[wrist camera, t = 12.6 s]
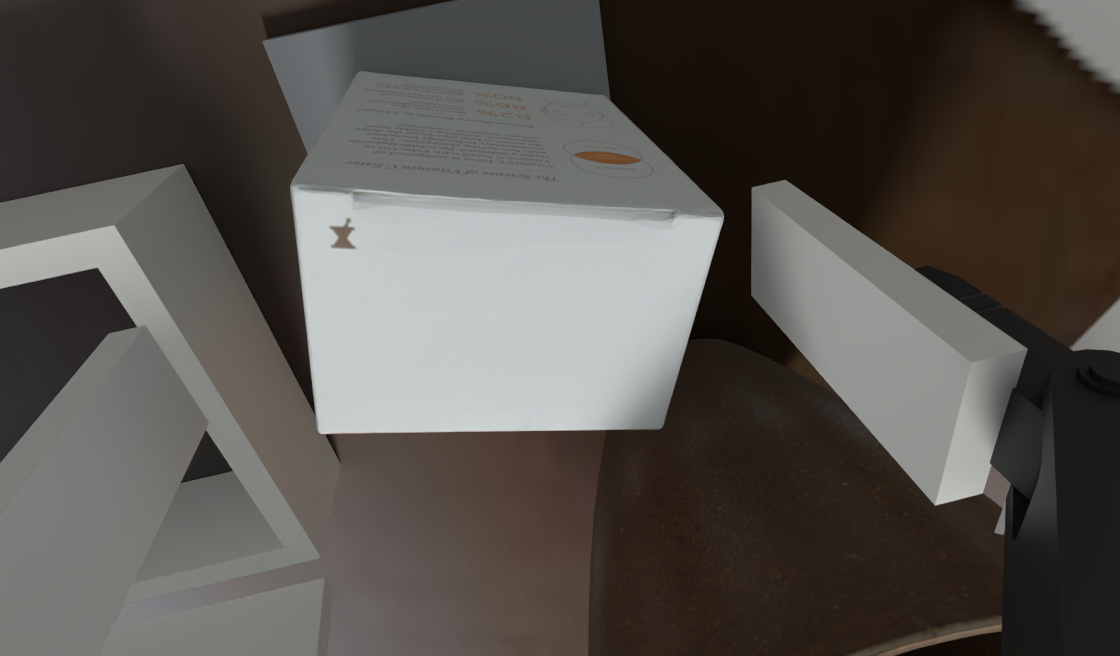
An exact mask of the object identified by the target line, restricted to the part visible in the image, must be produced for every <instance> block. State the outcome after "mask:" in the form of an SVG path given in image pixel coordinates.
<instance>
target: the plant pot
mask: <svg viewBox="0 0 1120 656" xmlns="http://www.w3.org/2000/svg"><path fill="white" fill-rule="evenodd" d="M1002 509H1003V508H1002V507H1000V506H999V505H998V504H996V503H995V502H994V501H992V500H991V499H990V498H989V497H987V496H986V495H985V494H979V495H975V496H971V497H967V498H963V499H959V500H955V501H951V502H947V503H943V504H939V505H936V506H935V505H934V504H933V503H932V501H931V500H930V499H929V498H928V497H927V496H926V495H925V493H924V492H923V491H922V490H921V489H920V488H919V487H918V485H917V484H916V483H915V482H914V481H913V480H912V479H911V477H910V476H909V475H908V474H907V473H906V472H905V471H904V469H903V468H902V467H901V466H900V465H899V464H898V463H897V461H896V460H895V459H894V458H893V457H892V456H891V455H890V453H889V452H888V451H887V450H886V449H885V448H884V446H883V445H882V444H881V443H880V442H879V441H878V440H877V438H876V437H875V436H874V435H873V434H872V433H871V432H870V430H869V429H868V428H867V427H866V426H865V425H864V424H863V422H862V421H861V420H860V419H859V418H858V417H857V416H856V414H855V413H854V412H853V411H852V410H851V409H850V408H849V406H848V405H847V404H846V403H845V402H844V401H843V400H842V398H841V397H839V396H838V395H836V394H834V393H833V392H831V391H829V390H828V389H826V388H824V387H822V386H820V385H819V384H817V383H815V382H813V381H812V380H810V379H808V378H806V377H804V376H802V375H800V374H798V373H796V372H795V371H793V370H791V369H789V368H787V367H785V366H783V365H781V364H779V363H777V362H775V361H773V360H771V359H769V358H766V357H764V356H762V355H760V354H758V353H756V352H753V351H751V350H749V349H747V348H744V347H742V346H739V345H737V344H735V343H732V342H728V341H725V340H720V339H709V338H704V339H693V340H688V343H687V346H686V349H685V353H684V356H683V360H682V363H681V366H680V370H679V373H678V377H677V380H676V384H675V387H674V390H673V394H672V397H671V401H670V404H669V407H668V411H667V414H666V418H665V422H664V425H663V427H662V428H661V429H659V430H607V433H606V437H605V443H604V448H603V454H602V459H601V466H600V472H599V478H598V486H597V495H596V504H595V513H594V522H593V536H592V550H591V568H590V595H589V656H1001V636H1002V604H1003V572H1004V540H1005V532H1004V534H1003V535H1001V534H998V533H994V532H995V529H996V526H997V523H998V521H999V518H1000V515H1001V512H1002Z"/></svg>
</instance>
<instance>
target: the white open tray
mask: <svg viewBox="0 0 1120 656" xmlns="http://www.w3.org/2000/svg"><path fill="white" fill-rule="evenodd" d="M93 268H98V269H99V270H100V272H101V273H102V275H103V276H104V278H105V279H106V281H107V282H108V284H109V285H110V287H111V288H112V290H113V291H114V293H115V294H116V296H117V297H118V299H119V300H120V302H121V303H122V305H123V306H124V308H125V309H126V311H127V312H128V314H129V315H130V317H131V318H132V320H133V321H134V323H135V324H136V326H137V327H140V326H144V325H146V326H147V328H148V329H149V331H150V333H151V334H152V336H153V337H154V339H155V340H156V342H157V343H158V345H159V346H160V348H161V349H162V351H163V353H164V354H165V356H166V357H167V359H168V360H169V362H170V363H171V365H172V366H173V368H174V369H175V371H176V372H177V374H178V376H179V377H180V379H181V380H182V382H183V383H184V385H185V386H186V388H187V389H188V391H189V392H190V394H191V396H192V397H193V399H194V400H195V402H196V403H197V405H198V406H199V408H200V409H201V411H202V412H203V414H204V415H205V417H206V419H207V420H208V422H209V424H208V426H207V429H206V431H207V432H208V434H209V435H210V437H211V438H212V440H213V441H214V443H215V444H216V446H217V447H218V449H219V450H220V452H221V453H222V455H223V456H224V458H225V459H226V461H227V462H228V464H229V465H230V467H231V468H232V470H233V471H231V472H227V473H222V474H218V475H214V476H209V477H205V478H201V479H196V480H192V481H188V482H183V483H180V485H179V488H178V490H177V492H176V494H175V496H174V498H173V500H172V502H171V504H170V506H169V509H168V511H167V513H166V515H165V517H164V519H163V521H162V523H161V525H160V528H159V530H158V532H157V534H156V536H155V538H154V540H153V542H152V544H151V547H150V549H149V551H148V553H147V555H146V557H145V559H144V561H143V563H142V565H141V568H140V570H139V572H138V574H137V576H136V578H135V580H134V582H133V584H132V587H131V589H130V591H129V593H128V595H127V597H126V599H125V601H124V603H123V605H124V604H129V603H133V602H137V601H141V600H146V599H150V598H154V597H158V596H163V595H167V594H171V593H175V592H180V591H184V590H188V589H192V588H196V587H201V586H205V585H209V584H213V583H218V582H222V581H226V580H230V579H235V578H239V577H243V576H247V575H252V574H256V573H260V572H264V571H269V570H273V569H277V568H281V567H286V566H290V565H294V564H298V563H302V562H307V561H311V560H315V559H319V558H322V553H323V548H324V543H325V538H326V533H327V528H328V523H329V518H330V513H331V508H332V503H333V499H334V494H335V489H336V484H337V479H338V474H339V469H340V462H339V460H338V458H337V456H336V454H335V452H334V451H333V449H332V447H331V445H330V443H329V441H328V439H327V437H326V435H325V434H320V433H319V432H318V430H317V427H316V416H315V414H314V412H313V410H312V408H311V407H310V405H309V403H308V401H307V399H306V397H305V395H304V393H303V391H302V389H301V387H300V385H299V384H298V382H297V380H296V378H295V376H294V374H293V372H292V370H291V368H290V366H289V364H288V363H287V361H286V359H285V357H284V355H283V353H282V351H281V349H280V347H279V345H278V343H277V341H276V340H275V338H274V336H273V334H272V332H271V330H270V328H269V326H268V324H267V322H266V320H265V319H264V317H263V315H262V313H261V311H260V309H259V307H258V305H257V303H256V301H255V299H254V297H253V296H252V294H251V292H250V290H249V288H248V286H247V284H246V282H245V280H244V278H243V276H242V274H241V273H240V271H239V269H238V267H237V265H236V263H235V261H234V259H233V257H232V255H231V253H230V252H229V250H228V248H227V246H226V244H225V242H224V240H223V238H222V236H221V234H220V232H219V230H218V229H217V227H216V225H215V223H214V221H213V219H212V217H211V215H210V213H209V211H208V209H207V207H206V206H205V204H204V202H203V200H202V198H201V196H200V194H199V192H198V190H197V188H196V186H195V185H194V183H193V181H192V179H191V177H190V175H189V173H188V171H187V169H186V167H185V165H184V164H181V165H176V166H171V167H166V168H162V169H157V170H152V171H148V172H143V173H138V174H133V175H129V176H124V177H119V178H115V179H110V180H105V181H101V182H96V183H91V184H86V185H82V186H77V187H72V188H68V189H63V190H58V191H53V192H49V193H44V194H39V195H35V196H30V197H25V198H20V199H16V200H11V201H6V202H2V203H0V289H1V288H6V287H10V286H15V285H20V284H24V283H29V282H33V281H38V280H43V279H47V278H52V277H57V276H61V275H66V274H70V273H75V272H80V271H84V270H89V269H93Z"/></svg>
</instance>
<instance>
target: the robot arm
mask: <svg viewBox="0 0 1120 656" xmlns="http://www.w3.org/2000/svg"><path fill="white" fill-rule="evenodd" d="M751 295H752V297H753V298H754V299H755V300H756V301H757V302H758V303H759V305H760V306H761V307H762V308H763V309H764V310H765V311H766V313H767V314H768V315H769V316H770V317H771V318H772V319H773V321H774V322H775V323H776V324H777V325H778V326H779V327H780V329H781V330H782V331H783V332H784V333H785V334H786V335H787V337H788V338H789V339H790V340H791V341H792V342H793V343H794V345H795V346H796V347H797V348H798V349H799V350H800V351H801V353H802V354H803V355H804V356H805V357H806V358H807V360H808V361H809V362H810V363H811V364H812V365H813V366H814V368H815V369H816V370H817V371H818V372H819V373H820V374H821V376H822V377H823V378H824V379H825V380H826V381H827V382H828V384H829V385H830V386H831V387H832V388H833V389H834V390H835V392H836V393H837V394H838V395H839V396H840V397H841V398H842V400H843V401H844V402H845V403H846V404H847V405H848V406H849V408H850V409H851V410H852V411H853V412H854V413H855V414H856V416H857V417H858V418H859V419H860V420H861V421H862V422H863V424H864V425H865V426H866V427H867V428H868V429H869V430H870V432H871V433H872V434H873V435H874V436H875V437H876V438H877V440H878V441H879V442H880V443H881V444H882V445H883V446H884V448H885V449H886V450H887V451H888V452H889V453H890V455H891V456H892V457H893V458H894V459H895V460H896V461H897V463H898V464H899V465H900V466H901V467H902V468H903V469H904V471H905V472H906V473H907V474H908V475H909V476H910V477H911V479H912V480H913V481H914V482H915V483H916V484H917V485H918V487H919V488H920V489H921V490H922V491H923V492H924V493H925V495H926V496H927V497H928V498H929V499H930V500H931V501H932V503H933V504H934V505H935V506H936V505H939V504H943V503H947V502H951V501H955V500H959V499H963V498H967V497H971V496H975V495H979V494H983V490H984V487H985V484H986V480H987V477H988V474H989V471H990V468H991V465H992V466H993V467H994V468H995V469H996V470H998V471H999V472H1000V473H1001V474H1002V475H1003V476H1004V477H1005V478H1006V479H1007V480H1008V481H1009V482H1010V483H1011V486H1010V489H1009V492H1008V495H1007V497H1006V500H1005V503H1004V506H1003V509H1002V512H1001V515H1000V518H999V521H998V523H997V526H996V529H995V532H994V533H998V534H1001V535H1003V534H1004V532H1005V540H1004V572H1003V604H1002V636H1001V656H1120V353H1118V352H1114V351H1108V350H1088V349H1085V350H1080V351H1072V350H1071V349H1069V348H1068V347H1066V346H1065V345H1063V344H1062V343H1060V342H1059V341H1057V340H1056V339H1054V338H1052V337H1051V336H1049V335H1048V334H1046V333H1045V332H1043V331H1042V330H1040V329H1039V328H1037V327H1036V326H1034V325H1033V324H1031V323H1029V322H1028V321H1026V320H1025V319H1023V318H1022V317H1020V316H1019V315H1017V314H1016V313H1014V312H1013V311H1011V310H1009V309H1008V308H1006V307H1004V308H1002V307H1001V304H1000V303H999V302H997V301H996V300H994V299H993V298H991V297H990V296H988V295H982V291H980V290H979V289H977V288H976V287H974V286H973V285H971V284H970V283H968V282H967V281H965V280H963V279H962V278H960V277H959V276H956V275H953V274H950V273H947V272H945V271H942V270H939V269H936V268H933V267H930V266H924V267H920V268H915V269H912V268H911V267H910V266H908V265H907V264H905V263H904V262H902V261H901V260H899V259H898V258H897V257H895V256H894V255H892V254H891V253H889V252H888V251H887V250H885V249H884V248H882V247H881V246H879V245H878V244H877V243H875V242H874V241H872V240H871V239H869V238H868V237H867V236H865V235H864V234H862V233H861V232H859V231H858V230H857V229H855V228H854V227H852V226H851V225H849V224H848V223H847V222H845V221H844V220H842V219H841V218H839V217H838V216H837V215H835V214H834V213H832V212H831V211H829V210H828V209H826V208H825V207H824V206H822V205H821V204H819V203H818V202H816V201H815V200H814V199H812V198H811V197H809V196H808V195H806V194H805V193H804V192H802V191H801V190H799V189H798V188H796V187H795V186H794V185H792V184H791V183H789V182H788V181H786V180H783V181H778V182H774V183H769V184H765V185H761V186H756V187H752V247H751ZM208 424H209V422H208V420H207V419H206V417H205V415H204V414H203V412H202V411H201V409H200V408H199V406H198V405H197V403H196V402H195V400H194V399H193V397H192V396H191V394H190V392H189V391H188V389H187V388H186V386H185V385H184V383H183V382H182V380H181V379H180V377H179V376H178V374H177V372H176V371H175V369H174V368H173V366H172V365H171V363H170V362H169V360H168V359H167V357H166V356H165V354H164V353H163V351H162V349H161V348H160V346H159V345H158V343H157V342H156V340H155V339H154V337H153V336H152V334H151V333H150V331H149V329H148V328H147V326H146V325H144V326H140V327H135V328H131V329H127V330H122V331H118V332H113V333H109V334H108V335H107V336H106V337H105V338H104V340H103V341H102V342H101V343H100V344H99V346H98V347H97V348H96V349H95V350H94V352H93V353H92V354H91V355H90V356H89V358H88V359H87V360H86V361H85V362H84V364H83V365H82V366H81V367H80V368H79V370H78V371H77V372H76V373H75V374H74V375H73V377H72V378H71V379H70V380H69V381H68V383H67V384H66V385H65V386H64V387H63V389H62V390H61V391H60V392H59V393H58V395H57V396H56V397H55V398H54V399H53V401H52V402H51V403H50V404H49V405H48V407H47V408H46V409H45V410H44V411H43V413H42V414H41V415H40V416H39V417H38V419H37V420H36V421H35V422H34V423H33V425H32V426H31V427H30V428H29V429H28V431H27V432H26V433H25V434H24V435H23V436H22V438H21V439H20V440H19V441H18V442H17V444H16V445H15V446H14V447H13V448H12V450H11V451H10V452H9V453H8V454H7V456H6V457H5V458H4V459H3V460H2V462H1V463H0V656H99V654H100V652H101V650H102V648H103V646H104V643H105V641H106V639H107V637H108V635H109V633H110V631H111V629H112V627H113V624H114V622H115V620H116V618H117V616H118V614H119V612H120V610H121V608H122V605H123V603H124V601H125V599H126V597H127V595H128V593H129V591H130V589H131V587H132V584H133V582H134V580H135V578H136V576H137V574H138V572H139V570H140V568H141V565H142V563H143V561H144V559H145V557H146V555H147V553H148V551H149V549H150V547H151V544H152V542H153V540H154V538H155V536H156V534H157V532H158V530H159V528H160V525H161V523H162V521H163V519H164V517H165V515H166V513H167V511H168V509H169V506H170V504H171V502H172V500H173V498H174V496H175V494H176V492H177V490H178V488H179V485H180V483H181V481H182V479H183V477H184V475H185V473H186V471H187V469H188V466H189V464H190V462H191V460H192V458H193V456H194V454H195V452H196V450H197V447H198V445H199V443H200V441H201V439H202V437H203V435H204V433H205V431H206V429H207V426H208Z"/></svg>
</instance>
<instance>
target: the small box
mask: <svg viewBox="0 0 1120 656" xmlns="http://www.w3.org/2000/svg"><path fill="white" fill-rule="evenodd" d="M290 191H291V199H292V207H293V216H294V225H295V234H296V243H297V252H298V261H299V269H300V278H301V287H302V296H303V305H304V314H305V323H306V332H307V341H308V351H309V360H310V369H311V379H312V388H313V397H314V406H315V415H316V427H317V430H318V432H319V433H320V434H346V433H413V432H479V431H561V430H659V429H661V428H662V427H663V425H664V422H665V418H666V414H667V411H668V407H669V404H670V401H671V397H672V394H673V390H674V387H675V384H676V380H677V377H678V373H679V370H680V366H681V363H682V360H683V356H684V353H685V349H686V346H687V343H688V339H689V336H690V332H691V329H692V326H693V322H694V319H695V315H696V312H697V309H698V305H699V302H700V298H701V295H702V291H703V288H704V285H705V281H706V278H707V274H708V271H709V268H710V264H711V261H712V257H713V254H714V250H715V247H716V244H717V240H718V237H719V233H720V230H721V227H722V224H723V220H724V214H723V211H722V210H721V209H720V208H719V207H718V206H717V205H716V204H715V203H714V202H713V201H712V200H711V199H710V198H709V197H708V196H707V195H706V194H705V193H704V192H703V191H702V190H701V189H700V188H699V187H698V186H697V185H696V184H695V183H694V182H693V181H692V180H691V179H690V178H689V177H688V176H687V175H686V174H685V173H684V172H683V171H682V170H681V169H680V168H679V167H678V166H677V165H676V164H675V163H674V162H673V161H672V160H671V159H670V158H669V157H668V156H667V155H666V154H664V153H663V152H662V151H661V150H660V149H659V148H658V147H657V146H656V145H655V144H654V143H653V142H652V141H651V140H650V139H649V138H648V137H647V136H646V135H645V134H644V133H643V132H642V131H641V130H640V129H639V128H638V127H637V126H636V125H634V124H633V123H632V122H631V121H630V120H629V119H628V118H627V117H626V116H625V115H624V114H623V113H622V112H621V111H620V110H619V109H618V108H617V107H616V106H615V105H614V104H613V103H612V102H611V101H610V100H609V99H608V98H607V97H606V96H604V95H596V94H584V93H574V92H563V91H553V90H543V89H533V88H523V87H513V86H502V85H491V84H481V83H472V82H462V81H452V80H442V79H430V78H420V77H410V76H400V75H391V74H381V73H373V72H366V71H359V72H358V73H357V74H356V75H355V77H354V79H353V81H352V82H351V84H350V86H349V87H348V89H347V91H346V92H345V94H344V96H343V98H342V99H341V101H340V103H339V105H338V106H337V108H336V109H335V111H334V113H333V115H332V116H331V118H330V119H329V121H328V123H327V124H326V126H325V127H324V129H323V131H322V132H321V134H320V135H319V137H318V138H317V140H316V142H315V144H314V145H313V147H312V148H311V150H310V151H309V153H308V155H307V157H306V159H305V160H304V162H303V163H302V165H301V167H300V168H299V170H298V172H297V174H296V175H295V177H294V178H293V180H292V183H291V186H290Z"/></svg>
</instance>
